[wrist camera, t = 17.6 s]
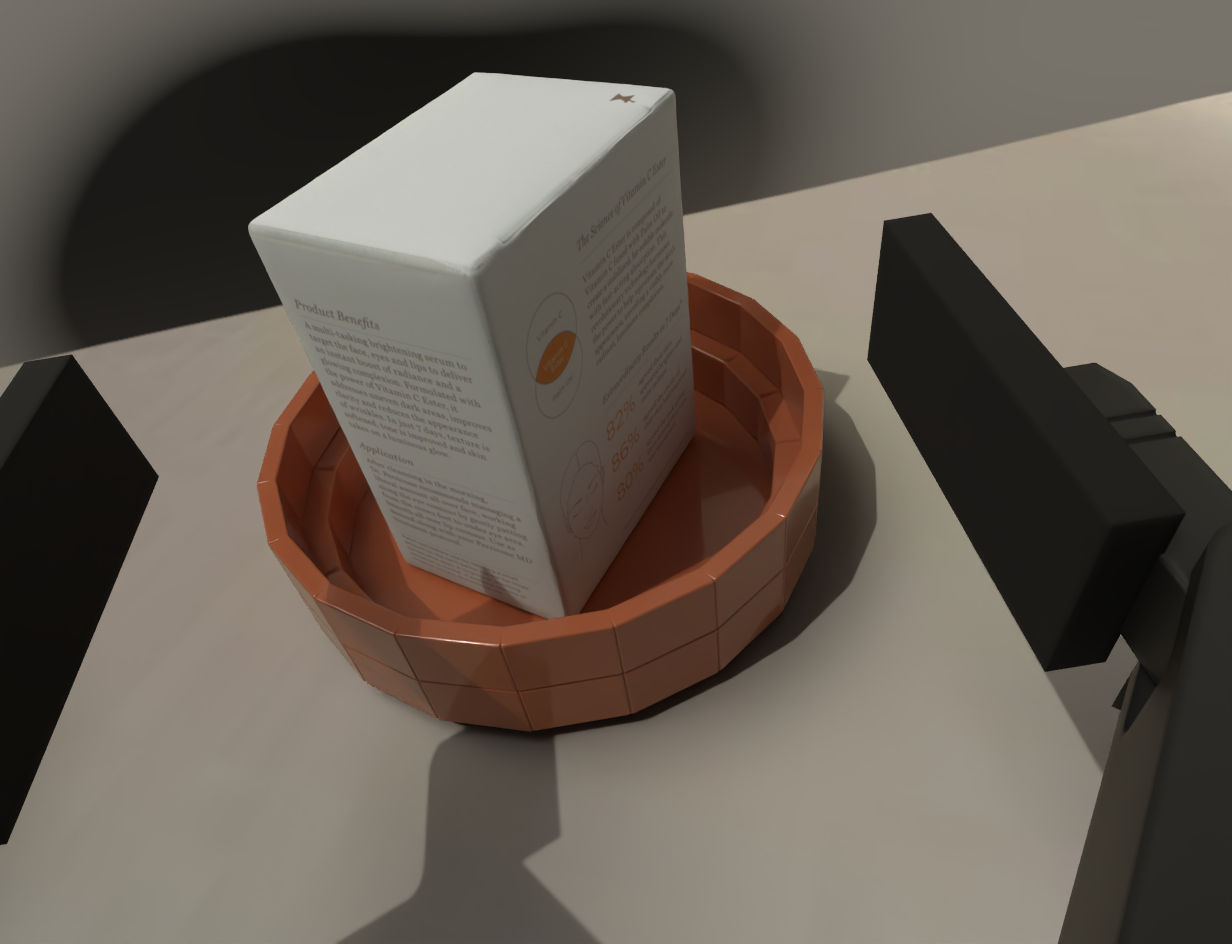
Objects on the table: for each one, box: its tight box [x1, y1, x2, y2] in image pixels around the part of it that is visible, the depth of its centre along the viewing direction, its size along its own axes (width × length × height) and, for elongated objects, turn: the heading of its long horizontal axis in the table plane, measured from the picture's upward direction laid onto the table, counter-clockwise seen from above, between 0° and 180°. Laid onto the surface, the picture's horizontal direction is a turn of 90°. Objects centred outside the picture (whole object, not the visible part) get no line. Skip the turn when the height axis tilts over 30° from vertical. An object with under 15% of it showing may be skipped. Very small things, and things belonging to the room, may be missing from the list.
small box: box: [248, 73, 696, 619], centre depth 20 cm, size 8×6×10 cm
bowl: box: [257, 272, 824, 732], centre depth 23 cm, size 15×15×4 cm
